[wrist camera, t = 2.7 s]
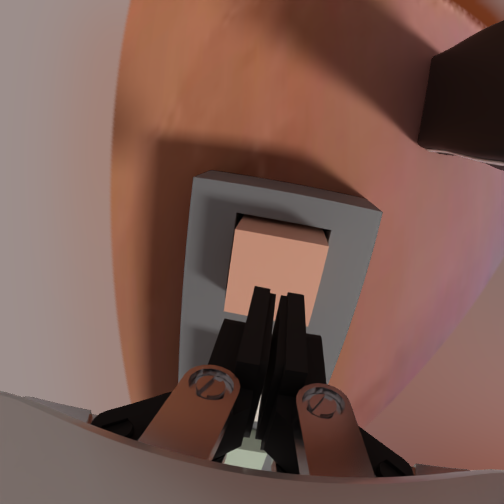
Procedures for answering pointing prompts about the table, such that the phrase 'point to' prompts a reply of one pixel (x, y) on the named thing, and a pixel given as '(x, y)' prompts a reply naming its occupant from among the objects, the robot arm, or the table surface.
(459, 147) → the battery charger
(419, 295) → the table surface
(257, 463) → the sage button
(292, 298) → the robot arm
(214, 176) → the frame
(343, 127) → the table surface
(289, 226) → the terracotta button
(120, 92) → the table surface
